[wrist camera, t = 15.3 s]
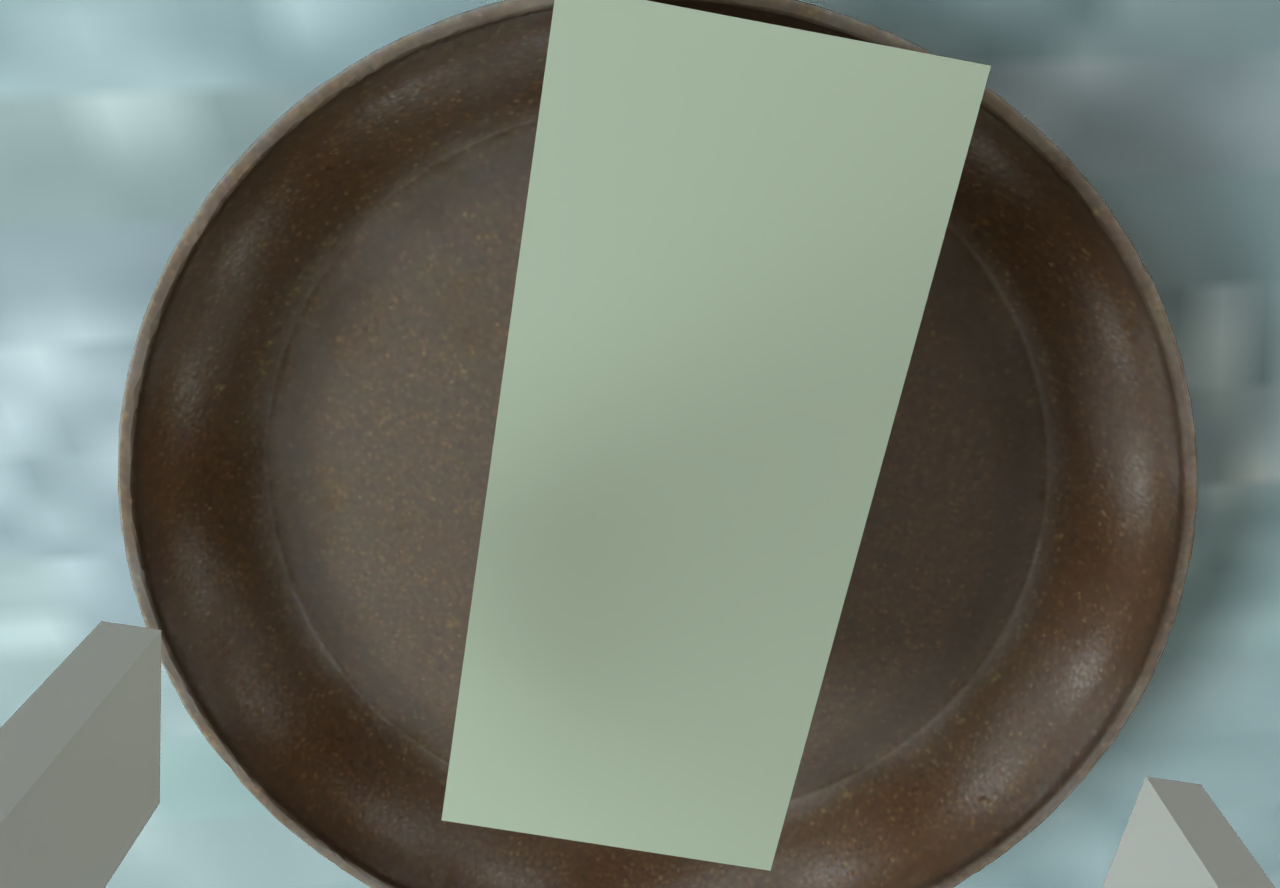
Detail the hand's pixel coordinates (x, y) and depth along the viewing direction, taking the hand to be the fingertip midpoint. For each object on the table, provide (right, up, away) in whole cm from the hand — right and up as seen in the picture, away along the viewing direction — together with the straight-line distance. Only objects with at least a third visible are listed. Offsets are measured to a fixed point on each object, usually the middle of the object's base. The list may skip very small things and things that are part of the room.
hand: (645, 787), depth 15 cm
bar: (+1, +5, +5) cm, 7 cm away
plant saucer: (0, +4, +10) cm, 10 cm away
